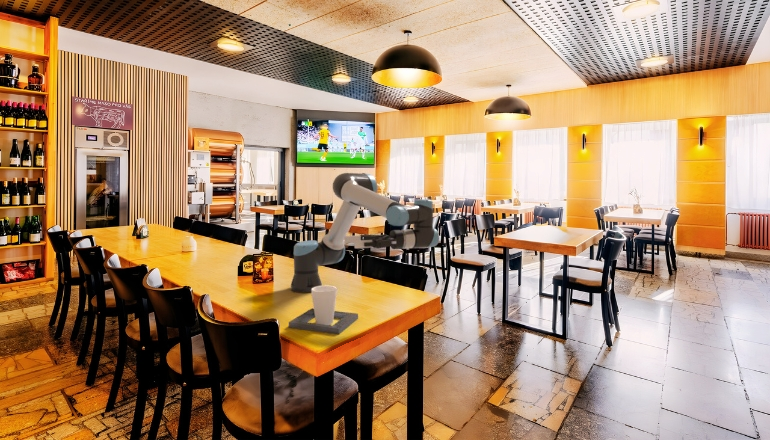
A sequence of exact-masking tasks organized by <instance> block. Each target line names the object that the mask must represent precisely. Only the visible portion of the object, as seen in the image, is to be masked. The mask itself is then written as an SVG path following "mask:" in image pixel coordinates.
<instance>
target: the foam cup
mask: <svg viewBox="0 0 770 440" xmlns="http://www.w3.org/2000/svg"><path fill="white" fill-rule="evenodd" d="M310 294H311V297H312V305H313V309H314V313H315V319H314V320H315V323H316V324H324V325H331V326H332V325H334V319H335V318H334V311H336V300H337V295H338V288H337V287H336V286H333V285H322V286H317V287H314V288H312V290H311V292H310Z"/></svg>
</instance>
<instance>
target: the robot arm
mask: <svg viewBox="0 0 770 440" xmlns="http://www.w3.org/2000/svg"><path fill="white" fill-rule="evenodd" d="M332 190H333V191H332V192H333V193H334V195H335V196H336V197H337V198H338V199H340V200H342V203H341V206H340V207H339V209H338V211H337V214H336V216H335V219H334V221H333V222H332V225H331V226H330V229H329V231H328V232H327V234H325V235H323V237H322V239H321V240H320V242H318V241H317V240H310V239H309V240H304V241H298V242H297V243H295V244H294V246H293V271H294V272H293V273H294V274H293V277H292V279H291V280H292V281H291V283H290V291H292V292H294V293H311V290H312V288H314V287H317V286H323V283H322V280H321V277H320V275H319V274H320V273H319V267H320V266H325V265H333V264H337V263H339V262H341V261H342V260H343V259H344V257H345V254H346V251H345V250H346V246H345V244H354V249H369V248H370V249H372V248H373V249H374V248H376V249H382V248H389V247H390V248H391V249H392V250H401V249H403V250H404V249H406V251H407V250H408V251H409V250H410V249H423V248H424V249H425V248H432V247H436V246H437V245H438V244H439V243H440V242H439V241H440V236H439V232H438V230H437V229H436V228H434V226H433V224H434V223H433V222H434V205H433V204H434V203H433V201H432V199H425V198H424V199H419V198H418V199H414V201H413V202H414V203H413V204H402V203H400V202H398V201H396V200H393V199H391V198H389V197H386V196H384V195H382V194H380V193H378V182H377V180H376V178H375V176H373V174H370V173H366V172H362V173H360V172H359V173H358V172H357V173H355V172H354V173H353V172H344V173H341V174H338V175H336V177H335V178H334V180H333V183H332ZM361 207H363V208H364V209H366V210H368V211H371V212H372V213H375V214H377V215H378V216H380V217H382V218H385V219H386V221H387V222H388V224H389V225H391V226H393V227H402V226H406V225H407V226H409V225H413V229H411V228H410V229H401V230H400V229H393V230H390V232H389V234H388V235H387V234H359V235H348V233H349V231H350V228H351V226H352V225H353V223H354V221H355V219H356V217H357V215H358V214H359V211H360V209H361Z"/></svg>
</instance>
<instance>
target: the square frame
mask: <svg viewBox="0 0 770 440" xmlns="http://www.w3.org/2000/svg"><path fill="white" fill-rule="evenodd" d="M314 318H315V313H314V307H313V308H310V309H308V310H306V311H305V312H303V313H302V314H300V315H299V316H297V317H295V318H293V319H291V320H290V321H288V328H290V329H297V330H304V331H311V332H319V333H327V334H332V335H333V334H334V335H340V334H342V332H344V331H346V329H348V328H349V327H350V326H351V325H353V324H354V323H355V322H356V321H357V320H358V319H359V313H356V312H348V311H347V312H346V311H340V310H339V311H338V310H337V311H336V310H335V311H334V319H339V320H338V321H337V322H335V323H333V324H331V325H324V324H316V322H315V323H314V322H310V321H311V320H313V319H314Z"/></svg>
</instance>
